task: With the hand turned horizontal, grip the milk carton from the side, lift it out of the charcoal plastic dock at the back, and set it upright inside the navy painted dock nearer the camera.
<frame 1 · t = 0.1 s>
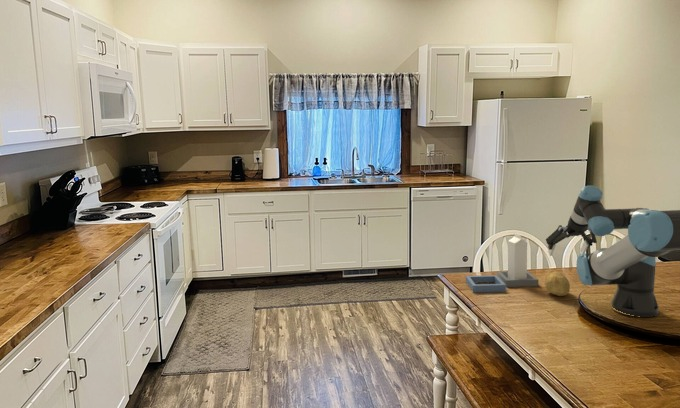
hand: (565, 253, 206), 15 cm above the table, tool tilted 35°, fingers open, 13 cm apart
potato: (557, 294, 200), on the table
milk: (517, 282, 218), resting in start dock
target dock: (485, 286, 213), on the table
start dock: (517, 281, 218), on the table
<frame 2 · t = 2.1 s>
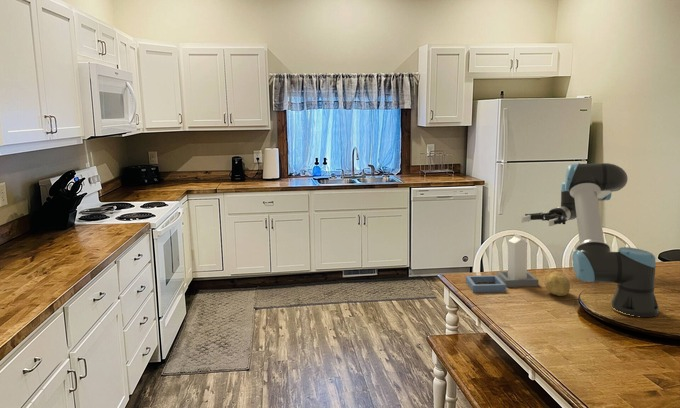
hand: (535, 221, 223), 26 cm above the table, tool horizontal, fingers open, 13 cm apart
nothing on the table moved.
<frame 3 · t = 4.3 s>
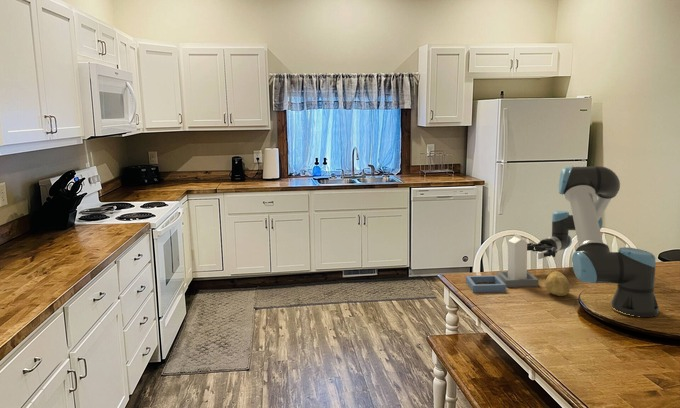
hand: (525, 253, 221), 12 cm above the table, tool horizontal, fingers open, 13 cm apart
nothing on the table moved.
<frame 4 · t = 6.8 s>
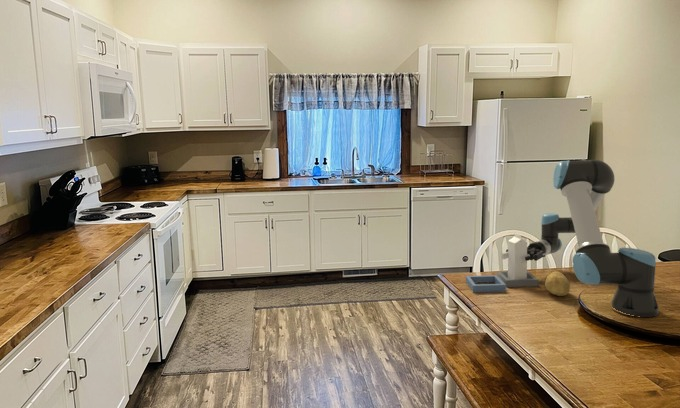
hand: (511, 258, 213), 12 cm above the table, tool horizontal, fingers closed on milk, 8 cm apart
milk: (517, 282, 218), resting in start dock, touching gripper
everything else where it was.
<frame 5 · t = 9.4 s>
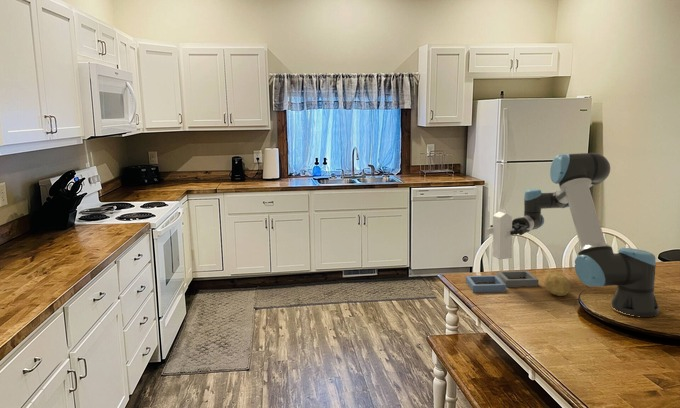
hand: (496, 232, 210), 24 cm above the table, tool horizontal, fingers closed on milk, 8 cm apart
milk: (502, 257, 215), point 12 cm above the table, touching gripper
everything else where it was.
when the fingers open (13 cm above the table, at t = 12.5 s): milk drops 1 cm, resting in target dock.
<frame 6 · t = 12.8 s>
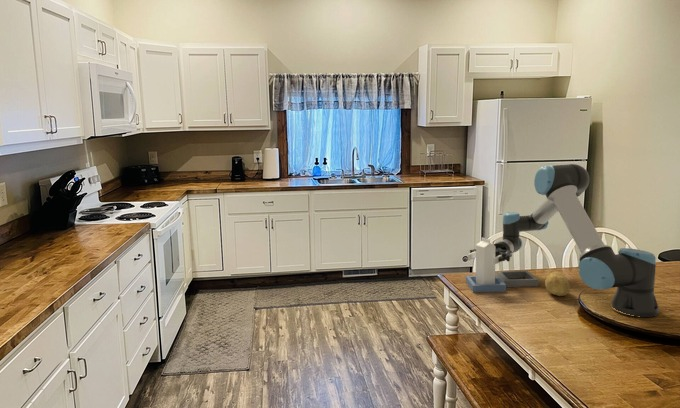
hand: (481, 259, 208), 13 cm above the table, tool horizontal, fingers open, 11 cm apart
milk: (485, 287, 213), resting in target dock
everything else where it was.
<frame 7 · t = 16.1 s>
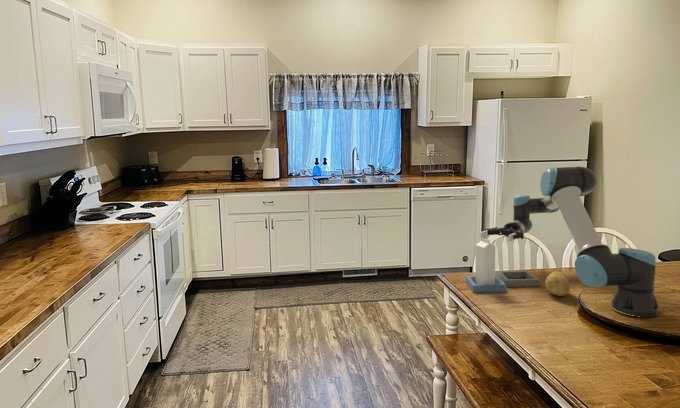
hand: (494, 236, 217), 21 cm above the table, tool horizontal, fingers open, 13 cm apart
nothing on the table moved.
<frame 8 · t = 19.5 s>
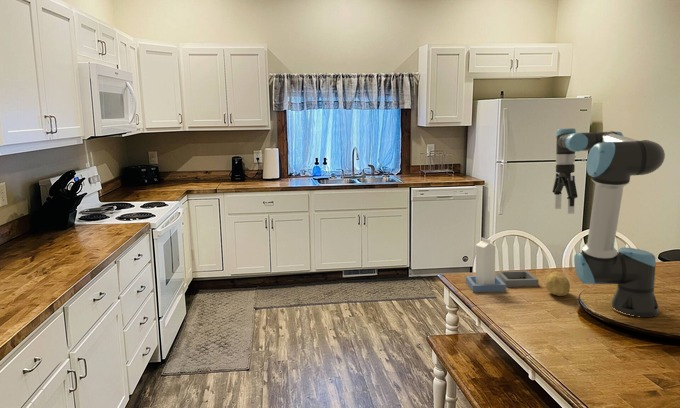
hand: (563, 211, 214), 32 cm above the table, tool pointing down, fingers open, 13 cm apart
nothing on the table moved.
at the end: milk 0.1 cm off-centre on the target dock, point 0.0 cm above the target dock's base; milk tilted 0°; the gripper is holding nothing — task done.
